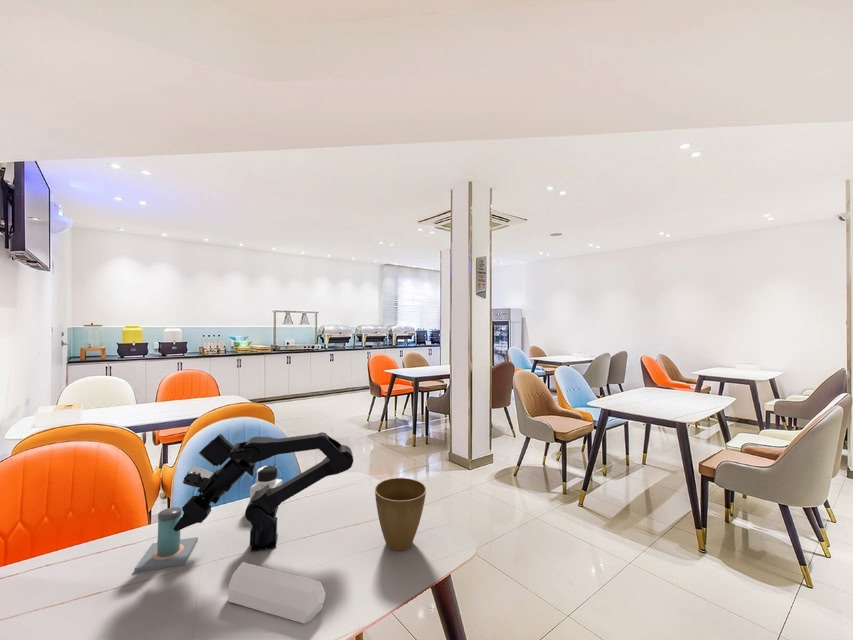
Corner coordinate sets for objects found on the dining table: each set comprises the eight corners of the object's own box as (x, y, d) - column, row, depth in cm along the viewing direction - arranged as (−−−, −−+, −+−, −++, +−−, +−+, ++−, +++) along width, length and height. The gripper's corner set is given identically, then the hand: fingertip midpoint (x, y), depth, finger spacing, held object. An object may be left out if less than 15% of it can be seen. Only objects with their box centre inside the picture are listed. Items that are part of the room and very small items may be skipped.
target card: (197, 540, 104) (197, 536, 104) (185, 564, 94) (185, 560, 94) (152, 547, 101) (152, 543, 101) (134, 572, 91) (134, 568, 91)
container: (282, 501, 129) (283, 464, 130) (270, 511, 122) (271, 472, 122) (261, 499, 130) (262, 463, 130) (249, 510, 122) (250, 471, 123)
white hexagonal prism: (337, 580, 84) (252, 559, 91) (322, 582, 78) (232, 560, 85) (327, 621, 80) (239, 596, 87) (311, 626, 74) (218, 599, 81)
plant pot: (364, 554, 100) (366, 495, 100) (385, 526, 114) (386, 475, 114) (416, 564, 96) (417, 503, 96) (431, 534, 110) (432, 481, 110)
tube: (184, 545, 100) (186, 507, 100) (171, 557, 95) (172, 517, 95) (166, 545, 100) (167, 506, 100) (151, 557, 95) (153, 516, 95)
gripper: (215, 446, 109) (173, 487, 106) (192, 470, 91) (140, 520, 88) (243, 470, 111) (202, 511, 108) (226, 498, 93) (176, 548, 90)
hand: (181, 520), depth 98 cm, fingers open, 9 cm apart
